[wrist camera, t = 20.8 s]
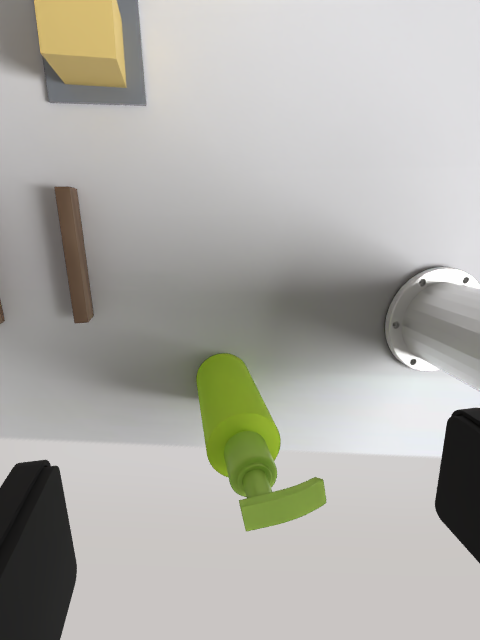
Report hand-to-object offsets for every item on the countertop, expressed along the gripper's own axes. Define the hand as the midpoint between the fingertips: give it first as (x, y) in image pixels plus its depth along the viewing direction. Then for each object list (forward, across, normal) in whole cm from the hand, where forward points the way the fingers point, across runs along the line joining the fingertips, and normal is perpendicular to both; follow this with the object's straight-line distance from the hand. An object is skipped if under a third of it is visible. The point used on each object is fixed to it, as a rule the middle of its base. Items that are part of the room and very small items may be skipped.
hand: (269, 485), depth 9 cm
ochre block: (+30, +8, -20) cm, 37 cm away
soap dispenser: (+31, -3, +11) cm, 33 cm away
